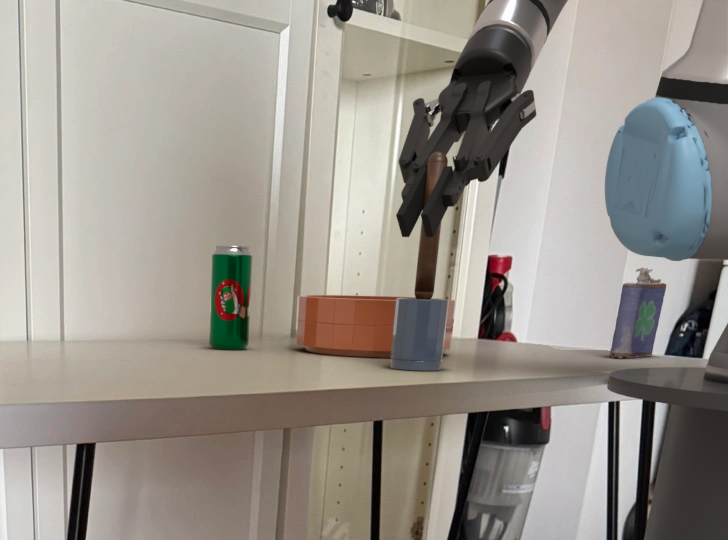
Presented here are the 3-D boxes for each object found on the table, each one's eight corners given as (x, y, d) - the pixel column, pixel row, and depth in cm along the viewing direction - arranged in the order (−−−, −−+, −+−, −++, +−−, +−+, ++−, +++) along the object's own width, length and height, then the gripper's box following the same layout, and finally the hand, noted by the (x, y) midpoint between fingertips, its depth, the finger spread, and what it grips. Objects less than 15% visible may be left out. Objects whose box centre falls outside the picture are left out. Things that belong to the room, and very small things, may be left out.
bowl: (478, 354, 132) (485, 300, 129) (388, 361, 119) (394, 301, 117) (356, 344, 145) (360, 294, 142) (263, 349, 132) (266, 295, 129)
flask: (623, 358, 131) (640, 267, 127) (602, 357, 133) (617, 267, 129) (656, 356, 137) (673, 268, 133) (635, 354, 139) (651, 268, 135)
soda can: (227, 346, 135) (230, 246, 130) (256, 349, 132) (261, 246, 127) (200, 347, 132) (203, 245, 127) (230, 350, 129) (234, 245, 124)
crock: (450, 369, 111) (459, 299, 108) (421, 371, 108) (429, 300, 105) (409, 365, 115) (416, 297, 112) (379, 367, 111) (386, 298, 108)
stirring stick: (436, 302, 108) (452, 151, 103) (425, 302, 107) (441, 149, 102) (420, 301, 110) (435, 153, 104) (409, 301, 108) (424, 151, 103)
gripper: (572, 86, 108) (493, 256, 102) (438, 97, 115) (357, 255, 110) (565, 16, 101) (480, 192, 96) (424, 32, 109) (337, 196, 104)
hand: (414, 225), depth 103 cm, fingers closed on stirring stick, 2 cm apart
